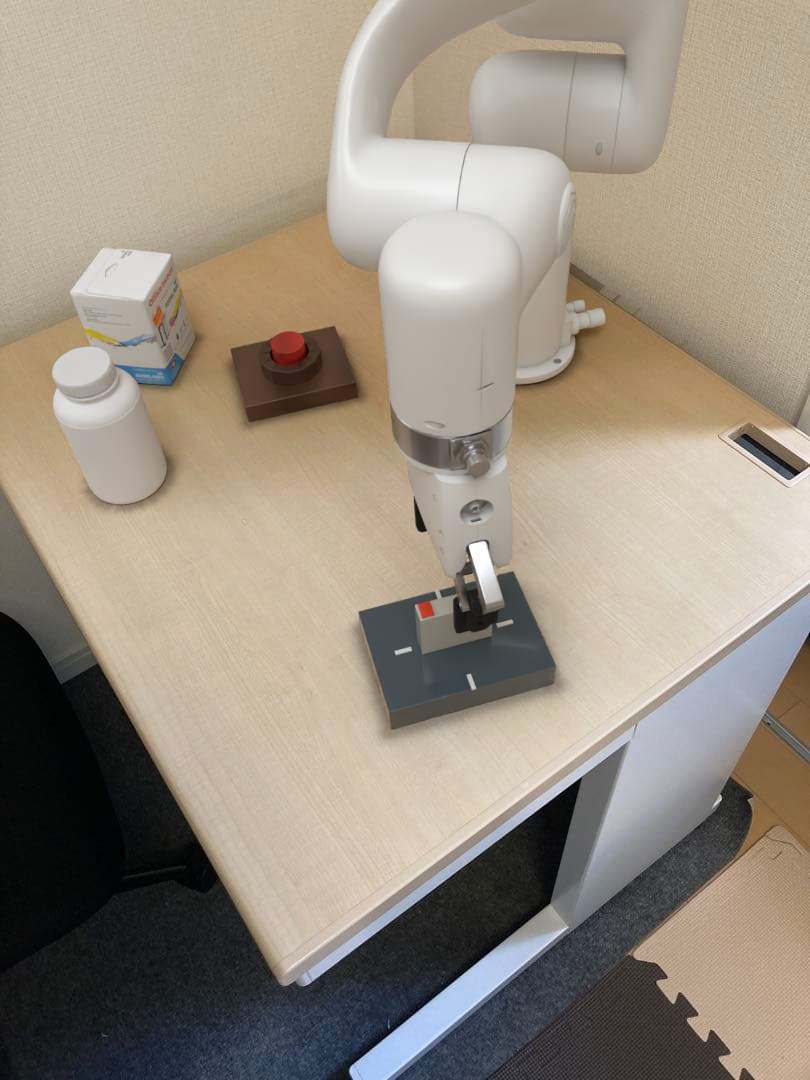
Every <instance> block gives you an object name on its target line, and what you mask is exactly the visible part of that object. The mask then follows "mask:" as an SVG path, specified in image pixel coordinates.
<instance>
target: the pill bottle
mask: <svg viewBox="0 0 810 1080" xmlns="http://www.w3.org/2000/svg"><path fill="white" fill-rule="evenodd" d="M51 376H52V379H53V381H54V383H55V385H56V390H55V392H54V395H53V399H52V409H53V413H54V416H55V418H56V420H57V423H58V425H59V427H60V429H61V431H62V433H63V435H64V437H65V439H66V441H67V443H68V446H69V447H70V449H71V451H72V454H73V456H74V458H75V460H76V463H77V464H78V466H79V469H80V471H81V473H82V474H83V477H84V479H85V481H86V483H87V485H88V487H89V489H90V490H91V491H92V493H93V494H94V495H95V496H96V498H98V499H99V500H101V501H103V502H105V503H108V504H112V505H129V504H130V505H131V504H134V503H139V502H140V501H143V500H145V499H147V498H148V497H150V496H151V495H153V494H155V493H156V492H157V491H158V489H160V487H161V486H162V484H163V483H164V481H165V479H166V477H167V471H168V470H167V469H168V467H167V461H166V457H165V453H164V452H163V449H162V446H161V444H160V441H159V438H158V434H157V433H156V430H155V426H154V424H153V421H152V418H151V416H150V413H149V410H148V408H147V405H146V403H145V399H144V397H143V394H142V391H141V388H140V386H139V383H137V382H136V381H135V379H134V378H133V377H132V376H131V375H130V374H129V373H127V372H126V371H124V370H122V369H120V368H118V367H115V366H114V363H113V361H112V358H111V356H110V355H109V354H108V353H107V352H106V351H104V350H103V349H100V348H97V347H91V346H80V347H77V348H73V349H71V350H69V351H67V352H65V353H64V354H62V355H61V356H60V357H59V358H58V359H56V361H55V362H54V364H53V367H52V371H51Z"/></svg>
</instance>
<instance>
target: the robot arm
mask: <svg viewBox="0 0 810 1080" xmlns="http://www.w3.org/2000/svg"><path fill="white" fill-rule="evenodd" d="M690 1H691V0H377V1H376V3H375V4H374V6H372V9H371V10H370V12H369V13H368V15H367V17H366V18H365V20H364V22H363V23H362V25H361V27H360V28H359V30H358V32H357V34H356V36H355V38H354V40H353V42H352V44H351V45H350V48H349V51H348V53H347V56H346V59H345V62H344V64H343V66H342V69H341V70H342V71H341V72H340V76H339V80H338V85H337V89H336V96H335V103H334V113H333V121H332V132H331V142H330V149H329V160H328V170H327V171H328V172H327V183H326V219H327V227H328V233H329V237H330V240H331V242H332V244H333V247H334V248H335V250H336V251H337V254H338V255H339V256H340V257H341V259H342V260H344V261H345V262H346V263H347V264H349V265H350V266H353V267H355V268H358V269H359V270H364V271H367V272H375V273H377V277H378V291H379V301H380V303H379V304H380V314H381V323H382V324H381V325H382V336H383V345H384V346H383V347H384V354H385V355H384V356H385V366H386V367H385V368H386V377H387V388H388V398H389V409H390V410H389V411H390V419H391V420H390V421H391V433H392V434H391V435H392V439H393V443H394V445H395V449H396V450H397V451H398V453H399V454H400V456H401V457H402V458H403V459H405V461H406V469H407V474H408V479H409V484H410V488H411V492H412V494H413V496H412V497H413V510H414V523H415V524H414V525H415V528H416V531H418V532H419V533H426V532H427V535H428V537H429V539H430V543H431V544H432V547H433V550H434V552H435V555H436V557H437V560H438V562H439V565H440V567H441V569H442V571H443V573H444V575H445V576H446V577H448V578H450V579H452V580H453V583H454V586H455V588H456V593H457V597H455V598H454V599H453V622H454V629H455V631H456V633H463V632H467V631H471V632H478V631H482V630H485V629H487V628H488V627H489V626H490V625H492V624H495V623H496V622H497V621H498V611H499V610H501V609H502V608H503V607H504V600H503V596H502V593H501V589H500V586H499V583H498V579H497V576H496V575H497V573H496V568H497V569H501V568H504V567H507V566H509V565H510V564H511V562H512V560H513V551H514V550H513V549H514V547H513V545H514V539H513V538H514V533H513V532H514V530H513V527H514V526H513V525H514V524H513V497H512V496H513V495H512V485H511V478H510V470H509V465H508V460H507V455H506V452H507V451H508V449H509V447H510V445H511V443H512V440H513V437H514V425H515V423H514V422H515V421H514V420H515V407H516V386H517V385H529V384H535V383H540V382H543V381H546V380H549V379H551V378H553V377H556V376H557V375H559V374H560V373H562V372H563V371H564V370H565V369H566V368H567V367H568V366H569V365H570V364H571V361H572V360H573V358H574V355H575V350H576V338H575V335H578V334H579V332H580V330H583V329H584V330H585V329H592V328H597V327H601V326H605V324H606V320H607V319H606V313H605V311H604V309H603V308H602V307H597V308H592V309H589V310H586V303H585V300H584V299H583V298H582V299H577V300H572V301H570V302H567V294H568V286H569V285H568V284H569V275H570V267H571V257H572V249H573V241H574V240H573V239H574V231H575V220H576V211H577V191H576V187H575V185H574V182H573V179H572V178H573V177H572V174H571V172H573V173H589V174H603V175H634V174H639V173H643V172H645V171H647V170H648V169H650V168H651V167H652V166H653V165H654V164H656V161H657V160H658V158H659V157H660V155H661V152H662V149H663V147H664V144H665V142H666V141H665V140H666V136H667V134H668V133H667V132H668V130H669V129H668V127H669V123H670V117H671V112H672V107H673V102H674V101H673V100H674V96H675V90H676V89H675V88H676V82H677V78H678V71H679V67H680V66H679V65H680V60H681V54H682V48H683V43H684V42H683V41H684V36H685V29H686V24H687V18H688V14H689V13H688V12H689V7H690ZM493 20H494V21H495V22H496V24H497V25H498V26H499V28H500V29H501V30H502V31H504V32H505V33H507V34H509V35H513V36H516V37H519V38H520V37H522V38H527V39H534V40H535V39H536V40H537V39H538V40H549V41H565V42H567V41H568V42H570V41H571V42H589V43H590V42H591V43H592V42H593V43H607V44H608V43H609V44H610V43H611V44H616V45H618V46H619V47H620V48H621V50H622V51H623V53H607V52H606V53H604V52H582V51H576V50H551V49H550V50H549V49H516V50H511V51H509V50H508V51H504V52H500V53H497V54H495V55H494V56H492V57H490V58H487V59H486V60H485V61H484V62H483V63H482V64H481V65H480V66H479V68H478V69H477V70H476V72H475V74H474V76H473V79H472V81H471V84H470V89H469V94H468V119H469V129H470V134H471V141H472V142H464V141H449V140H433V139H432V140H431V139H418V138H417V139H416V138H399V137H388V130H389V123H390V119H391V115H392V111H393V107H394V104H395V101H396V99H397V96H398V94H399V92H400V90H401V89H402V87H403V85H404V84H405V82H406V81H407V79H408V78H409V77H410V75H411V74H412V73H413V71H414V70H415V69H416V68H418V66H419V65H420V64H421V63H422V62H423V61H424V60H425V59H427V57H429V56H430V55H431V54H433V53H434V52H436V51H437V50H438V49H440V48H441V47H443V46H444V45H446V44H447V43H449V42H451V41H452V40H454V39H456V38H458V37H460V36H462V35H464V34H465V33H467V32H469V31H472V30H473V29H476V28H478V27H480V26H482V25H484V24H486V23H489V22H491V21H493ZM467 558H468V561H467ZM495 567H496V568H495ZM469 575H473V578H474V581H475V582H476V585H477V588H476V589H472V590H468V591H467V590H466V585H465V583H466V581H465V577H466V576H469Z"/></svg>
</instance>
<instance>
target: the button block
mask: <svg viewBox="0 0 810 1080" xmlns="http://www.w3.org/2000/svg"><path fill="white" fill-rule="evenodd" d="M298 333H299V334H301V335H302V336H303V337H304V341H305V347H306V357H305V359H303V360H302V361H300V362H299V363H296V364H291V365H282V364H278V363H277V362H276V361H275V360H274V358H273V354H272V349H271V340H272V339H273V337H275V336H276V335H274V336H272V337H270V338H269V339H267V340H263V341H258V342H253V343H249V344H244V345H240V346H236V347H235V346H234V347H230V353H231V357H232V362H233V365H234V370H235V373H236V374H235V375H236V377H237V381H238V386H239V389H240V393H241V398H242V401H243V405H244V409H245V412H246V416H247V421H248V422H249V423H251V422H256V421H260V420H264V419H269V418H273V417H277V416H282V415H287V414H290V413H295V412H298V411H304V410H308V409H313V408H316V407H320V406H325V405H330V404H335V403H339V402H343V401H347V400H352V399H356V398H358V397H359V393H358V386H357V381H356V378H355V375H354V373H353V370H352V368H351V365H350V362H349V359H348V356H347V354H346V352H345V349H344V346H343V344H342V341H341V338H340V335H339V333H338V330H337V328H336V326H335V325H332V326H327V327H323V328H319V329H318V328H317V329H314V330H308V331H305V332H298Z"/></svg>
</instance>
